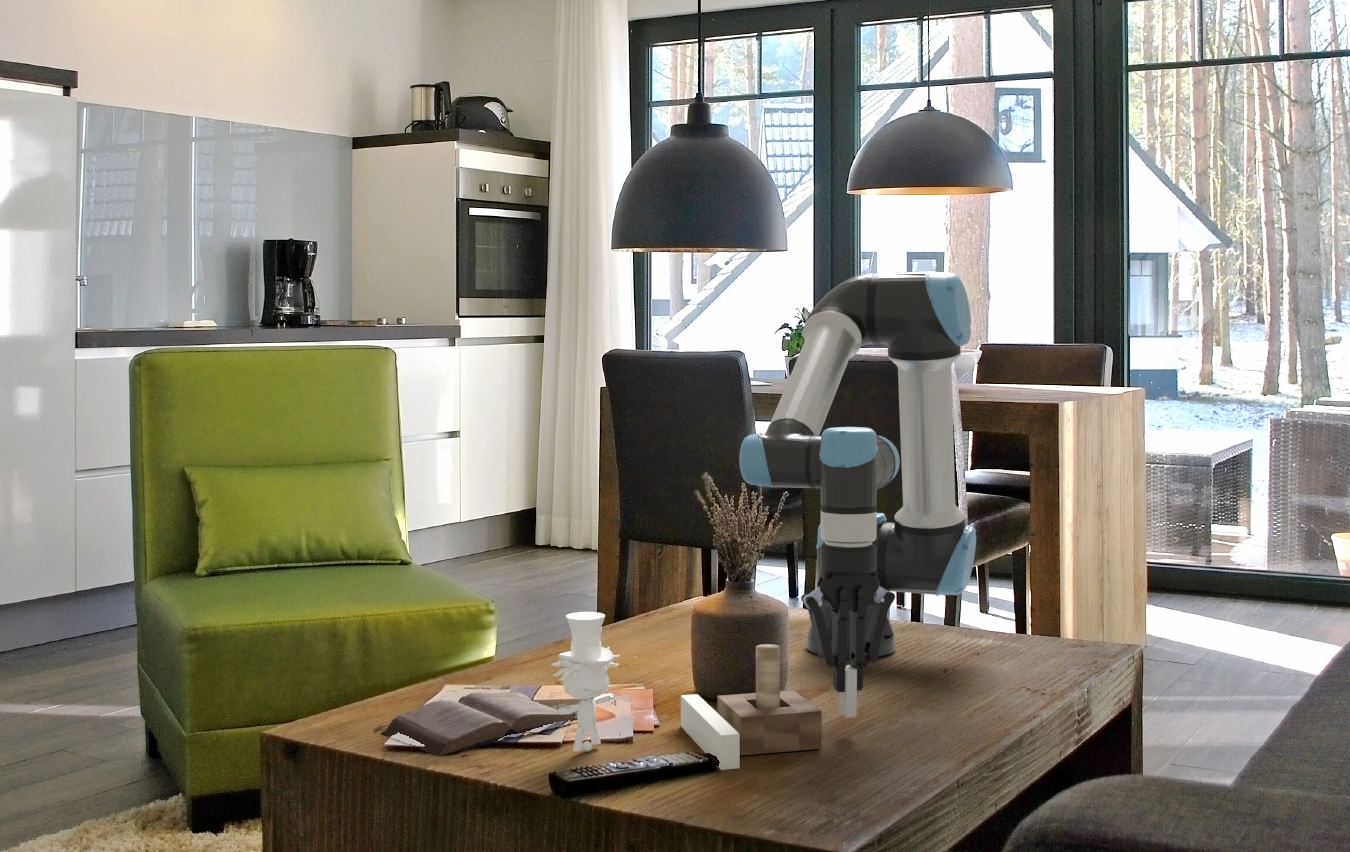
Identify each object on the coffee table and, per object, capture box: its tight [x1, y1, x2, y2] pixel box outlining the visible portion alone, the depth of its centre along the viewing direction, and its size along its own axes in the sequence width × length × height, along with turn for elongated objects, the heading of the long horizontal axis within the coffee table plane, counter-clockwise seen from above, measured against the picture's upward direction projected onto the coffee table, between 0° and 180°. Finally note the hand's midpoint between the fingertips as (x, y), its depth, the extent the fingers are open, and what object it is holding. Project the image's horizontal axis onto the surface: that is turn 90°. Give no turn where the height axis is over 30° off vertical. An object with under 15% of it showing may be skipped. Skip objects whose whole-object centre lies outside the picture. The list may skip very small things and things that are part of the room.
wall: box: [680, 693, 741, 771], centre depth 186 cm, size 20×2×4 cm, turn 14°
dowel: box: [755, 643, 781, 709], centre depth 187 cm, size 3×3×12 cm
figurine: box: [550, 611, 621, 753], centre depth 183 cm, size 10×8×18 cm
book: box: [361, 691, 576, 756], centre depth 196 cm, size 20×28×4 cm
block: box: [716, 689, 823, 756], centre depth 188 cm, size 11×11×5 cm
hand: (847, 714), depth 191 cm, fingers closed
